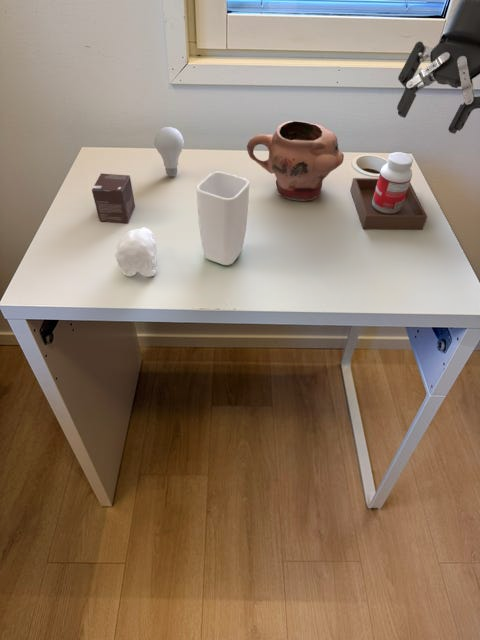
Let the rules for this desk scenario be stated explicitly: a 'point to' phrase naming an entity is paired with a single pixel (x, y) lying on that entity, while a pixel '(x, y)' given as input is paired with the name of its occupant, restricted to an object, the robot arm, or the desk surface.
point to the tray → (370, 218)
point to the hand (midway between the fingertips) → (425, 123)
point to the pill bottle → (393, 183)
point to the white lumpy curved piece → (137, 252)
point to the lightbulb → (169, 148)
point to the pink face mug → (299, 158)
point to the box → (114, 197)
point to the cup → (222, 215)
